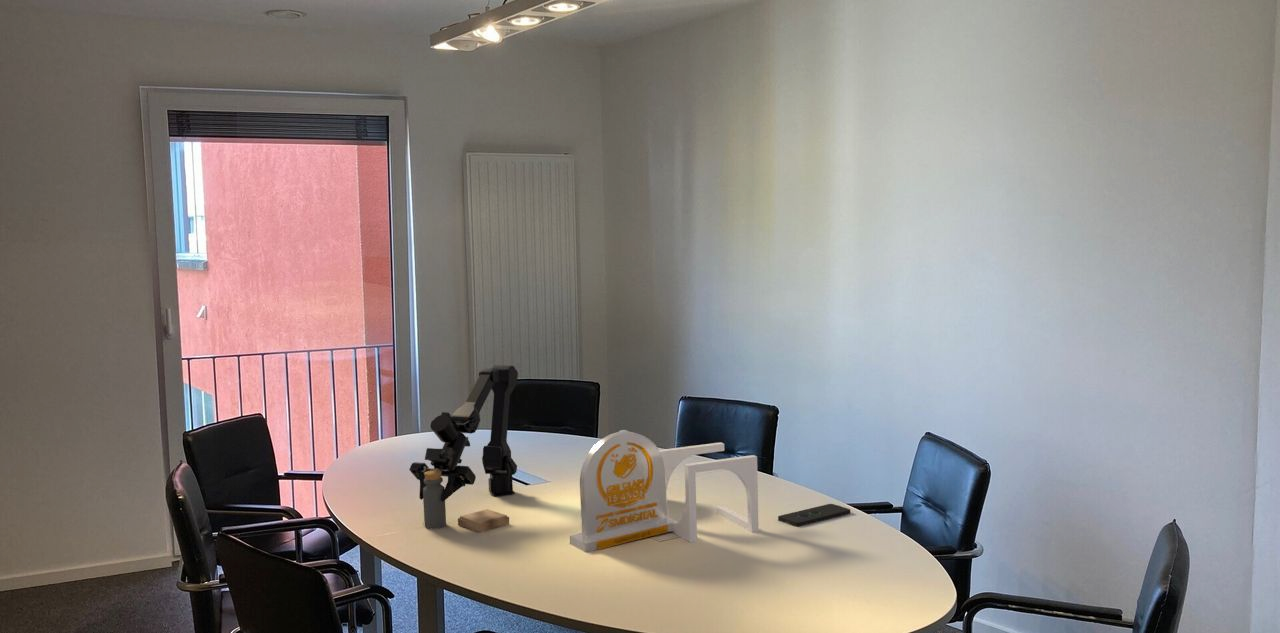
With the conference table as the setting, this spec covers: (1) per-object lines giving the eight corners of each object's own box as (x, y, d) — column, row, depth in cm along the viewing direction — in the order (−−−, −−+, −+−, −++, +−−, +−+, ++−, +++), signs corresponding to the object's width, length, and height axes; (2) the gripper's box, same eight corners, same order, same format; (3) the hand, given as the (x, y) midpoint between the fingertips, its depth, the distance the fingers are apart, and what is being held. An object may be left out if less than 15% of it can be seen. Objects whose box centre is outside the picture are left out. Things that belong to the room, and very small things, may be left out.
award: (586, 552, 248) (581, 443, 246) (569, 543, 256) (564, 437, 253) (679, 530, 263) (675, 427, 260) (661, 522, 270) (657, 422, 268)
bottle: (441, 529, 272) (438, 475, 270) (421, 528, 273) (418, 474, 271) (449, 522, 277) (447, 469, 276) (429, 522, 278) (427, 469, 277)
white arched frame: (657, 522, 272) (655, 450, 270) (722, 512, 280) (720, 442, 278) (690, 542, 254) (688, 465, 252) (758, 531, 262) (757, 456, 260)
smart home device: (776, 515, 271) (830, 502, 282) (776, 521, 271) (830, 508, 282) (797, 522, 264) (851, 509, 275) (797, 528, 264) (851, 515, 275)
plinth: (487, 517, 281) (487, 508, 281) (509, 524, 274) (508, 515, 274) (458, 525, 275) (457, 516, 274) (479, 532, 267) (478, 523, 267)
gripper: (411, 434, 280) (389, 482, 271) (468, 437, 273) (447, 487, 264) (428, 455, 288) (408, 502, 279) (484, 459, 281) (465, 508, 272)
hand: (431, 499), depth 273 cm, fingers open, 7 cm apart
